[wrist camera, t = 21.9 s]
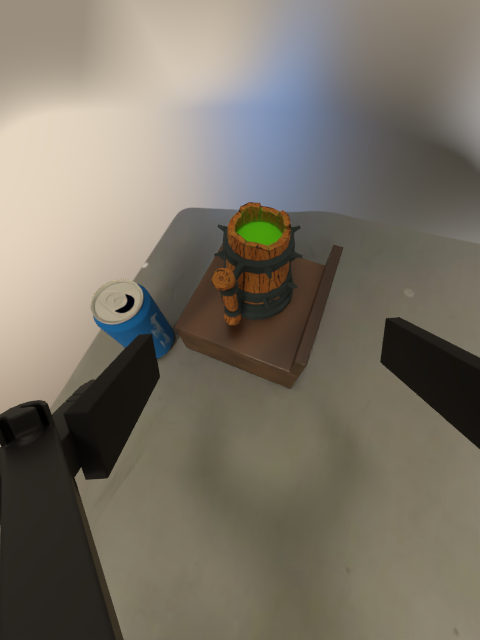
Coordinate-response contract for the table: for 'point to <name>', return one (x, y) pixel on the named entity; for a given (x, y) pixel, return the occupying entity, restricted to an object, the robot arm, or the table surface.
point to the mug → (256, 263)
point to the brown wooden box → (261, 324)
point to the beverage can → (131, 314)
